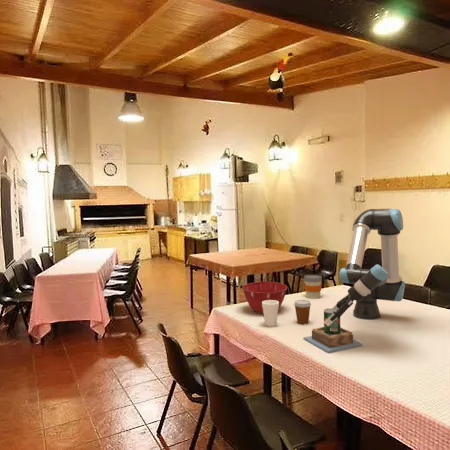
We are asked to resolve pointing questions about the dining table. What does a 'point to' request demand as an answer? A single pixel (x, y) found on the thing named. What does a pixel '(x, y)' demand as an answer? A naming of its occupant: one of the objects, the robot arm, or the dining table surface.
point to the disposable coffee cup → (302, 311)
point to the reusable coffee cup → (312, 286)
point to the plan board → (332, 349)
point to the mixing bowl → (263, 293)
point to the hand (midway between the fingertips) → (327, 319)
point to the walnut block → (332, 337)
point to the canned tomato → (335, 326)
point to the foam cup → (270, 312)
